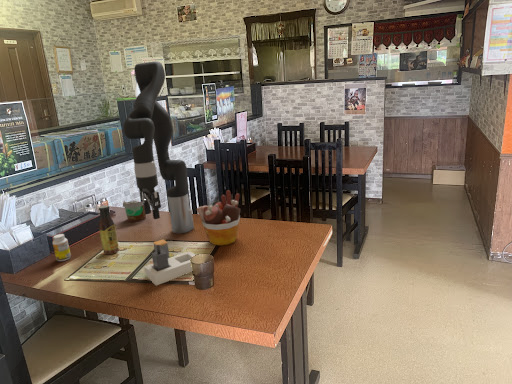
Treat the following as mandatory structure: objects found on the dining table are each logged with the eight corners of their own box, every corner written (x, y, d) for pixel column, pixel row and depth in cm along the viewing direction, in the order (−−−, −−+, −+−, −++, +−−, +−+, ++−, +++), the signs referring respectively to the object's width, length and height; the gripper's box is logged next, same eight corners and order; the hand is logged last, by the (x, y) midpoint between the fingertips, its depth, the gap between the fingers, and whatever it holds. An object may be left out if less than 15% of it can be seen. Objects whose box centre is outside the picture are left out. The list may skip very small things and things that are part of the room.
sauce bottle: (114, 255, 160) (105, 209, 155) (100, 255, 162) (91, 209, 156) (122, 248, 167) (114, 204, 161) (109, 248, 168) (100, 204, 163)
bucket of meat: (229, 252, 155) (224, 204, 150) (194, 247, 162) (189, 201, 157) (251, 233, 173) (247, 190, 167) (218, 230, 180) (214, 188, 174)
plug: (165, 258, 154) (162, 239, 152) (170, 261, 151) (167, 242, 149) (156, 261, 152) (153, 242, 150) (160, 264, 149) (157, 245, 147)
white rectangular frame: (190, 260, 150) (186, 231, 147) (202, 268, 143) (198, 237, 140) (145, 276, 140) (140, 245, 137) (156, 285, 133) (150, 253, 130)
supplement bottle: (56, 258, 162) (51, 235, 159) (71, 254, 164) (66, 232, 162) (56, 263, 157) (50, 239, 154) (71, 259, 159) (66, 236, 157)
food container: (120, 222, 200) (117, 204, 197) (126, 218, 206) (123, 200, 203) (143, 222, 198) (140, 203, 195) (148, 218, 203) (145, 199, 201)
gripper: (163, 174, 139) (169, 218, 143) (148, 169, 150) (154, 209, 154) (143, 179, 135) (149, 223, 139) (129, 173, 146) (136, 214, 150)
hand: (152, 216), depth 147 cm, fingers open, 8 cm apart
